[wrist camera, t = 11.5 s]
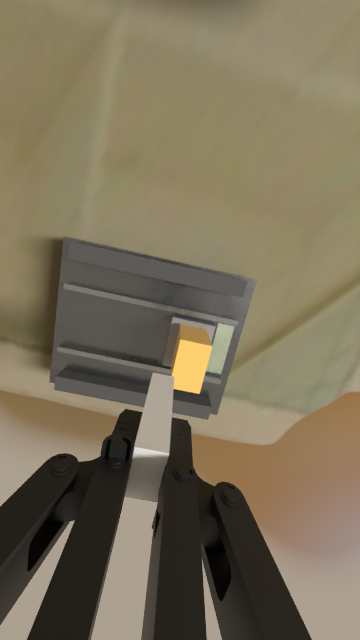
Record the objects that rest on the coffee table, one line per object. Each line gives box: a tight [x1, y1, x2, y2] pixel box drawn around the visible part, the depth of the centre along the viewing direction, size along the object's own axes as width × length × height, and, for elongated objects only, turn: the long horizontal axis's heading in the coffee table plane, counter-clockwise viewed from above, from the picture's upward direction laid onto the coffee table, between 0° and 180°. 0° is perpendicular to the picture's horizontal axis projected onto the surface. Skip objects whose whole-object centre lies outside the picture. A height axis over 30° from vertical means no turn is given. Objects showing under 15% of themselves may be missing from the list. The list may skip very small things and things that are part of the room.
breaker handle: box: [162, 315, 216, 394], centre depth 26 cm, size 6×5×7 cm
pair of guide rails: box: [54, 241, 248, 420], centre depth 28 cm, size 17×19×2 cm
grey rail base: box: [50, 237, 257, 415], centre depth 30 cm, size 18×22×5 cm
